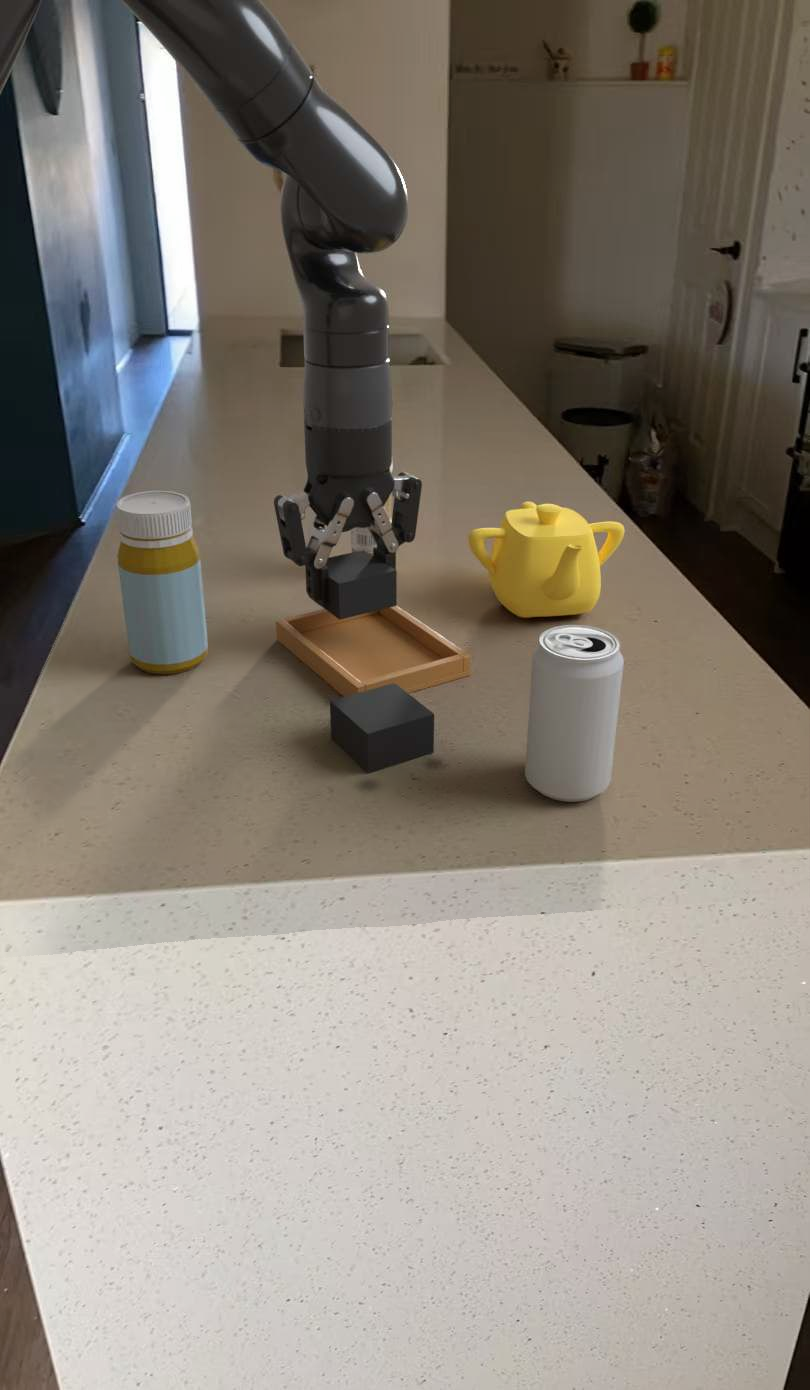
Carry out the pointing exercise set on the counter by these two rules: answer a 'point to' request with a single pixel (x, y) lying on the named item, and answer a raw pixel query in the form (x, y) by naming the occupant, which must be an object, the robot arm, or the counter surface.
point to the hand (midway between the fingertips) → (351, 594)
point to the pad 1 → (359, 585)
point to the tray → (372, 650)
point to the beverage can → (573, 712)
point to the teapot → (545, 559)
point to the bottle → (161, 582)
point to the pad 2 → (382, 727)
